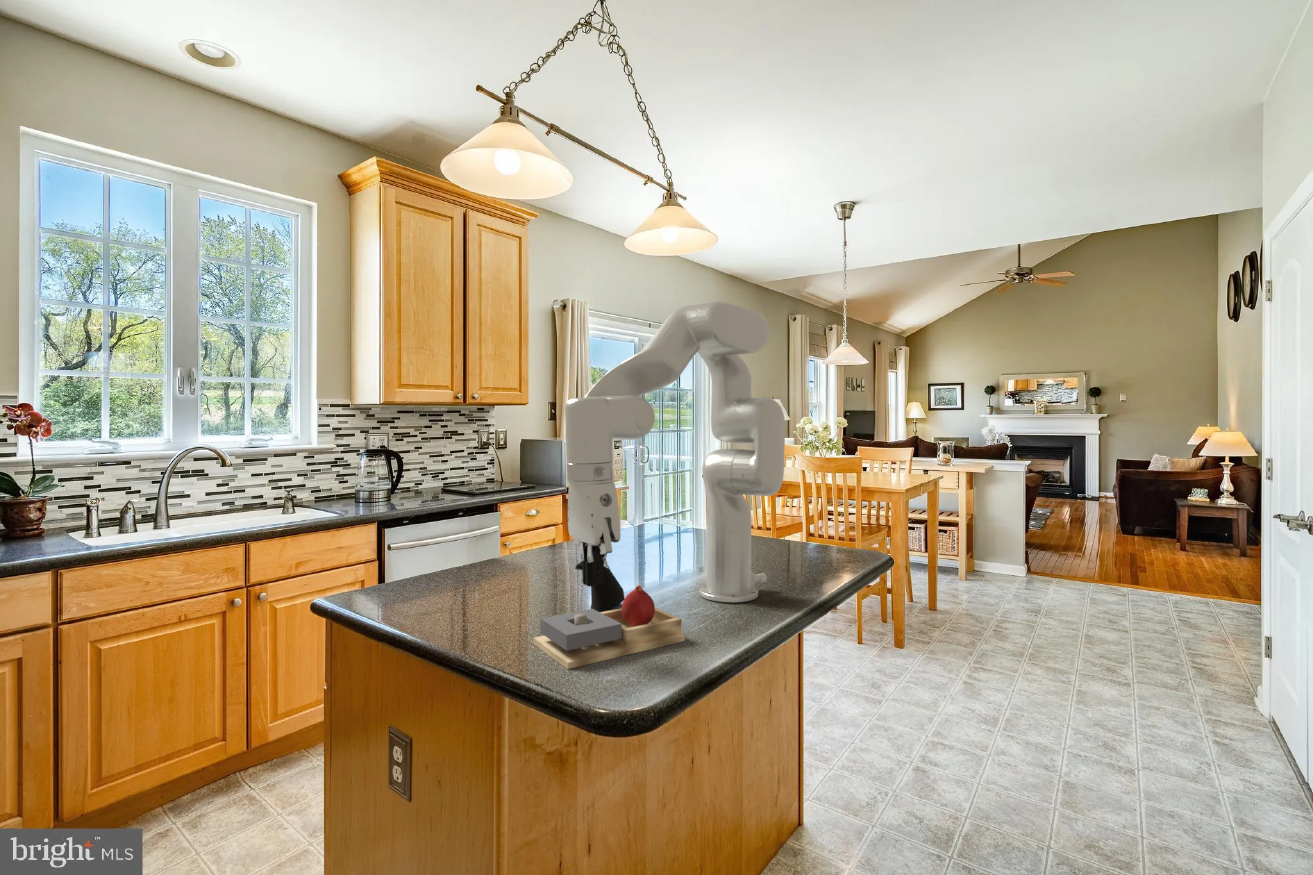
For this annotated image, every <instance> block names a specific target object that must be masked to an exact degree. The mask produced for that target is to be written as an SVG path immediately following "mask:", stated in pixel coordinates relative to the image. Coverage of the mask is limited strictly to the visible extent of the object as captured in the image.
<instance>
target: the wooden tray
mask: <svg viewBox="0 0 1313 875" xmlns="http://www.w3.org/2000/svg"><path fill="white" fill-rule="evenodd" d="M600 613H602V614H604V615H606V616H608V617H609V618H611V619H613V620H615V621H617V622H619V623H621V624H622V639H617V640H613V641H608V642H604V643H599V644H595V645H590V646H586V647H581V648H577V649H572V650H568V651H566V650H565V649H563V648H562V647H560V646H559V645H558V644H556V643H555V642H553V641H552V640H550V639H549V638H547V637H546V636H544V635H541V636H536V637H532V642H533V643H532V644H533V645H534V646H535V647H536V648H538V649H539V650H541V651H543V652H544V653H545V654H547V655H548V656H549V658H550V657H551V659H553V660H555V661H556V662H557V663H559V664H560V665H562V667H564V668H565V669H567V670H570V669H574V668H577V667H582V666H586V665H591V664H594V663H598V662H603V661H608V660H611V659H616V658H620V657H624V656H628V655H632V654H636V653H640V652H644V651H648V650H653V649H658V648H662V647H665V646H669V645H670V646H671V645H674V644H678V643H682V642H686V641H685V640H686V635H685V634H683V633H682V618H681V617H679V616H676V615H673V614H671V613H668V612H666V611H664V610H662V609H659V608H657V607H655V613H654V617H653V619H652V620H651V621H650V622H649V623H648V624H645V625H640V626H636V627H632V626H630V625H629V624H628V623H627V622H626V621H625V620H624V618H623V616H622V607H621V608H614V609H612V610H610V611H605V612H600ZM582 624H587V615H586V614H576V615H574V625H575V626H577V625H582Z"/></svg>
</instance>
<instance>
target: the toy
mask: <svg viewBox="0 0 1313 875" xmlns="http://www.w3.org/2000/svg"><path fill="white" fill-rule="evenodd" d="M599 541H601V540H599ZM607 554H608V553H607ZM607 554H606V556H605V560H604V583H603V584H599V585H594V586H590V598H591V599H590V601H591V604H590V609H594V610H596V611H598V612H605V611H610V610H614V609H617V607H619V606H620V605H621V604H623V601H624V599H625V592H624V589H623V587H622V585H621V584H620V583H619V581H618V580H617V578H616V576H615V575H614V574H613V572H612V570H611V568H610V565H609V564H608V561H607ZM575 570H580V571H582V561H580V562H579V563H576V564H575Z"/></svg>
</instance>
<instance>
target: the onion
mask: <svg viewBox="0 0 1313 875" xmlns="http://www.w3.org/2000/svg"><path fill="white" fill-rule="evenodd" d="M624 598H625V599H624V600H623V602H622V603H621V604H622V605H621V608H622V616H623V618H624V620H625V621H626V622H627V623H628V624H629V625H630V626H632V627H636V626H640V625H645V624H648V623H649V622H650V621H651V620H652V619H653V617H654V613H655V608H656V606H655V602H654V599H653V598H652V597H651V595H650V594H648V593H647V592H646V591H645V590H644V589H643V588H642V585H640V584H637V585H636V586H635V588H634V589H633V590H632V591H630V592H628V594H627V595H626V596H624Z"/></svg>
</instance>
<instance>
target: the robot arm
mask: <svg viewBox="0 0 1313 875" xmlns="http://www.w3.org/2000/svg"><path fill="white" fill-rule="evenodd" d="M769 338H770V327H769V324H768V321H767V319H766V318H765V317H764V315H763V314H762V313H761V312H760V311H758V310H755V309H752V308H748V307H744V306H741V305H738V304H737V305H736V304H733V303H728V302H724V301H712V302H705V303H698V304H692V305H686V306H682V307H678V308H676V309H675V310H674V311H672V312H671V313H670V314H669V316H667V318H666V319H665V320H664V322H663V323H662V324H661V325H660V326H659V327H658V329H657V330H656V332H655V333H654V334H653V336H651V338H650V339H649V341H648V342H647V343H646V344H645V346H644V347H643V348H642V349H641V350H640V351H638V352H637V353H636V354H633V355H632V356H630V357H629V358H628V359H625V360H624V361H622V362H621V363H619V364H618V365H617V366H615V367H613V368H612V369H610V370H609V371H607V372H606V373H605V374H604V375H602V376H601V377H600V378H599V379H598V380H597V381H596V382H595V383H594V385H592V387H591V388H590V390H589V391H588V392H587V393H586V394H585V395H584V397H573V398H570V399H569V400H567V401H566V403H565V406H564V415H565V421H564V422H565V447H566V449H565V452H566V454H565V455H566V481H567V484H568V493H567V494H568V495H567V530H568V534H569V536H570V537H571V538H572V539H573V541H574V544H575V545H576V546H578V548H579V555H580V560H581V562H582V570H581V571H582V573H581V574H582V584H583V585H584V586H586V587H588V588H589V587H590V588H591V586H594V585H599V584H603V583H604V566H605V565H604V560H605V556H606V554H611V553H613V546H612V543H619V542H620V541H621V538H622V537H621V536H622V534H621V518H620V507H619V499H618V495H617V487H616V485H615V482H614V481H615V480H614V450H613V449H614V448H613V445H614V444H613V440H622V441H623V440H626V441H628V440H629V441H630V440H631V441H632V440H638V439H642V438H643V437H645V436H647V435H648V434H649V433H650V431H651V430H653V427H654V426H655V421H656V414H655V410H654V408H653V406H652V404H651V403H649V401H647V399H646V398H644V397H642V396H644V395H646V394H648V393H651V392H654V391H655V392H656V391H658V390H660V389H663V388H665V387H668V386H669V385H671V384H673V383H675V382H676V381H677V380H678V379H679V378H680V376H681V375H682V373H683V372H684V371H685V369H686V368H687V367H688V365H689V364H690V362H691V361H692V360H693V358H694V356H695V355H696V354H697V353H698V354H699V356H700V357H701V359H702V360H703V361H704V363H705V365H706V367H707V369H708V370H709V374H710V377H711V403H710V404H711V408H710V409H711V410H710V426H711V433H712V435H713V437H714V438H715V439H716V440H718V441H721V442H725V443H737V444H739V443H741V444H754V445H753V446H754V449H744V448H719V449H715V450H714V451H711V452H710V453H709V454H707V456H706V457H705V459H704V460H703V463H702V470H701V471H702V478H703V485H704V489H705V496H706V498H705V499H706V520H707V521H706V584H704V585H701V587H700V588H699V591H698V592H699V595H700V596H701V597H702V598H704V599H706V600H709V601H714V602H719V603H744V602H746V603H747V602H751V601H753V600H756V599H757V598H758V597H759V590H758V589H757V588H756V587H755V586H756V585H757V583H764V582H766V581H767V580H768V576H767V574H766V573H764V572H762V573H756V574H755V572H752V511H751V509H750V506H749V503H748V502H747V500H746V498H745V496H744V495H746V496H758V497H759V496H760V497H771V496H774V495H775V494H778V492H779V490H780V489H781V488H782V485H783V480H784V476H785V475H784V474H785V473H784V472H785V448H786V447H785V443H786V440H785V438H786V421H785V420H786V419H785V415H784V410H783V409H782V407H781V405H780V403H779V402H777V400H775V399H773V398H771V397H752V396H753V395H752V375H751V371H750V369H749V368H748V365H747V364H746V362H745V361H744V360H743V358H742V357H741V356H740V355H747V354H755V353H758V352H759V353H760V351H762V350H763V349H764V348H765V346H766V345H767V343H768V342H769ZM599 540H601V541H599ZM606 557H607V556H606Z"/></svg>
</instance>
